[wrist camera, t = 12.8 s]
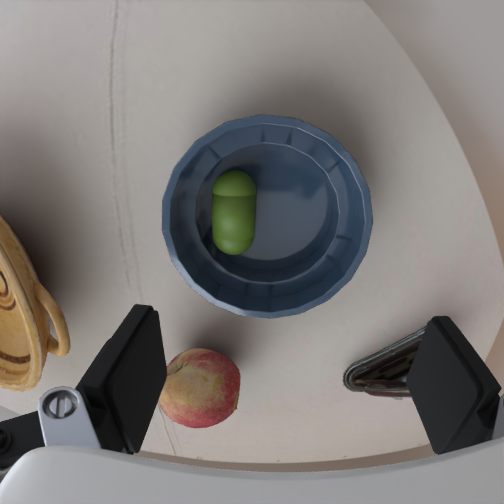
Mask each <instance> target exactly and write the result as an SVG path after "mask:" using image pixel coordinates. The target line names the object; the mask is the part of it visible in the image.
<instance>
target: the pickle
mask: <svg viewBox="0 0 504 504" xmlns="http://www.w3.org/2000/svg"><path fill="white" fill-rule="evenodd" d="M255 213H256V187H255V184H254V182H253V180H252V179H251V177H250V176H249V175H247V174H246V173H244V172H242V171H238V170H230V171H227V172H224V173H222V174H221V175H220V176H219V177H218V178H217V179H216V181H215V182H214V185H213V189H212V235H213V240H214V243H215V244H216V246H217V247H218V248H219V250H221V251H222V252H224V253H226V254H230V255H238V254H241V253H243V252H245V251H246V250H248V249H249V248H250V246H251V245H252V243H253V241H254V236H255Z"/></svg>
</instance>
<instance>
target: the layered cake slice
mask: <svg viewBox="0 0 504 504" xmlns="http://www.w3.org/2000/svg"><path fill="white" fill-rule="evenodd" d="M424 331H425V328H424V329H422V330H418V332H417V333H415V334H412V335H410V336H408V337H407V338H405V339H403V340H401V341H399V342H398V343H395V344H393V345H391V346H389V347H388V348H384V349H383V350H382V351H380V352H379V353H376V354H374V355H371V356H369V357H368V358H366V359H363V360H360V361H358V362H356V363H353V364H352V365H351V366H350V367H348V368H347V369H346V371H345V372H344V373H343V383H344V386H345V387H346V388H347V389H349V390H351V391H352V392H366V393H368V394H370V395H372V396H378V397H391V398H394V399H396V400H402V399H403V397H406V398H412V396H411V394H410V392H409V390H408V387H407V384H406V378H407V375H408V373H409V370H410V368H411V365H412V363H413V360H414V358H415V355H416V353H417V350H418V348H419V345H420V342H421V340H422V337H423V334H424Z"/></svg>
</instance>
